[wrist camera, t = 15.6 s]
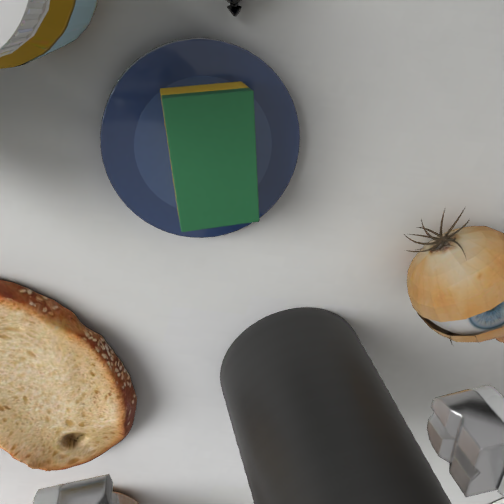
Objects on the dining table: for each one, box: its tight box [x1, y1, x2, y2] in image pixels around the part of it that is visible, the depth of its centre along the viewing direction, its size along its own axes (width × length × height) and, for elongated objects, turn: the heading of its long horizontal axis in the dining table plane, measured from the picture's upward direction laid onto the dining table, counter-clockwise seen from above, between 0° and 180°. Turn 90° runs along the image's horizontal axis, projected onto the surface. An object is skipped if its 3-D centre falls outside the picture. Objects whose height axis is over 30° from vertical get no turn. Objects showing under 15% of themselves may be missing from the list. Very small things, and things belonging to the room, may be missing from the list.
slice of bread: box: [0, 279, 137, 471], centre depth 34 cm, size 18×18×4 cm
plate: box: [100, 38, 300, 238], centre depth 29 cm, size 13×13×1 cm
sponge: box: [160, 82, 259, 232], centre depth 27 cm, size 8×5×4 cm, turn 3°
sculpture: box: [405, 208, 504, 343], centre depth 35 cm, size 9×9×15 cm
